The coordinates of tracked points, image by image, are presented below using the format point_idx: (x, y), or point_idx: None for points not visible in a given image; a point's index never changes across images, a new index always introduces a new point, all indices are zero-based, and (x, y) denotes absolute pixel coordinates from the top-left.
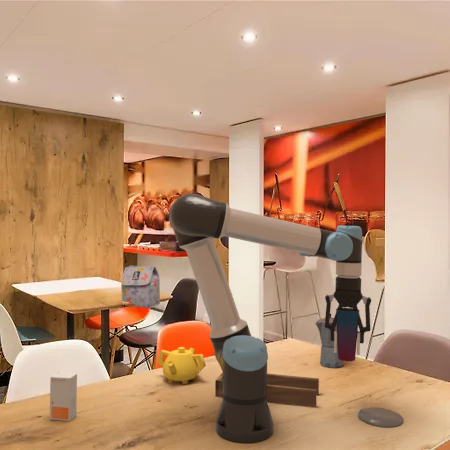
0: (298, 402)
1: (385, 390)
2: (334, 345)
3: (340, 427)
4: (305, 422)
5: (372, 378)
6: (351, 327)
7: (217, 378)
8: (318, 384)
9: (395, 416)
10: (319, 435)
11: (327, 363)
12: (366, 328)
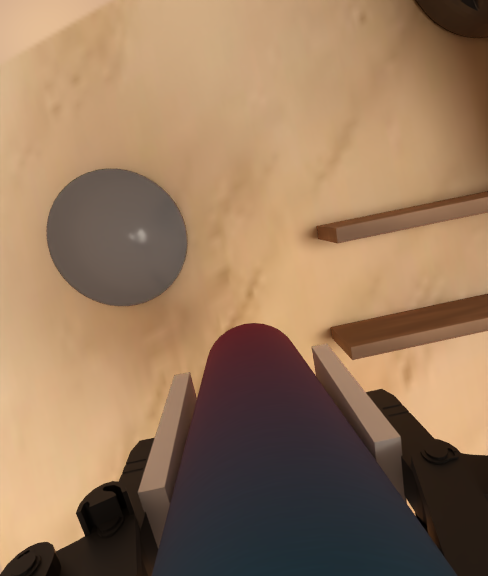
0: (375, 215)
1: None
2: (341, 366)
3: (213, 106)
4: (321, 91)
5: None
6: (213, 487)
7: None
8: (344, 340)
9: (74, 258)
10: (259, 7)
11: None
12: (42, 573)
